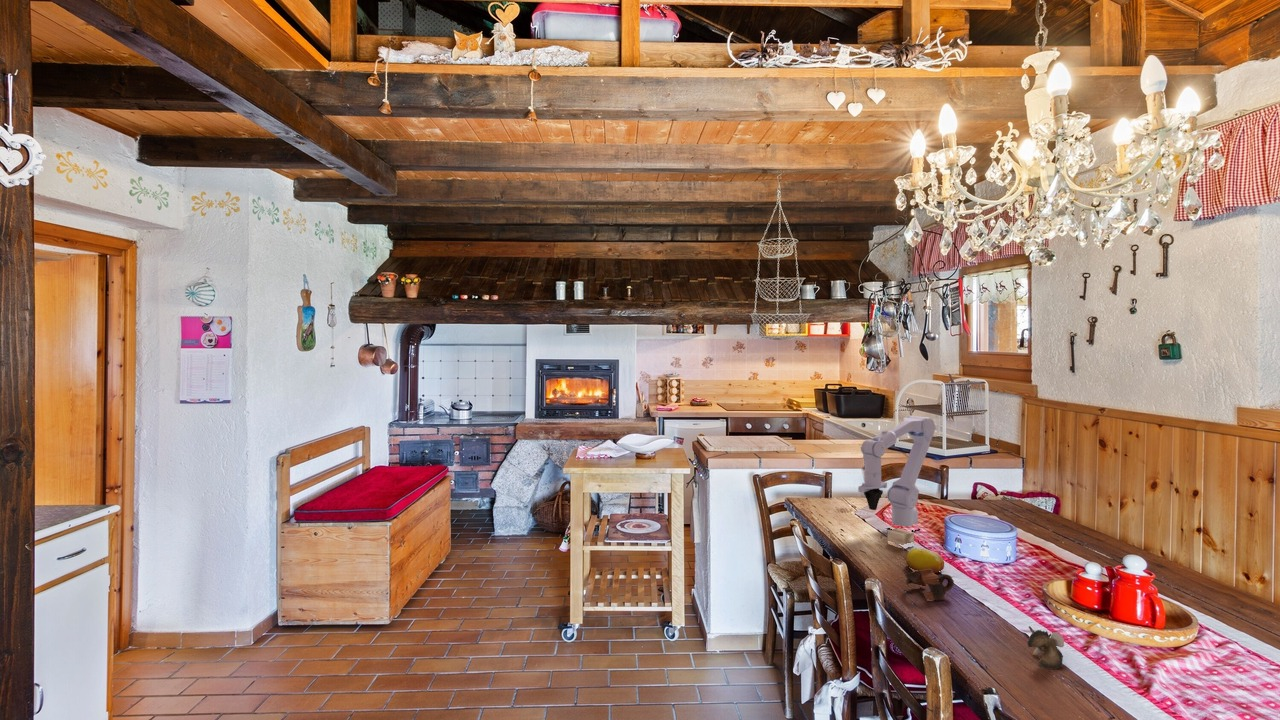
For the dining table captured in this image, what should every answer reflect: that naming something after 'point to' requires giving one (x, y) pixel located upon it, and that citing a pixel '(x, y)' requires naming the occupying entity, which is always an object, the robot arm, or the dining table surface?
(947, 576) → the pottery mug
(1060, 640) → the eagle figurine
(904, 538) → the ash block
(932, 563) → the fruit
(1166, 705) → the dining table surface
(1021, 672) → the dining table surface
